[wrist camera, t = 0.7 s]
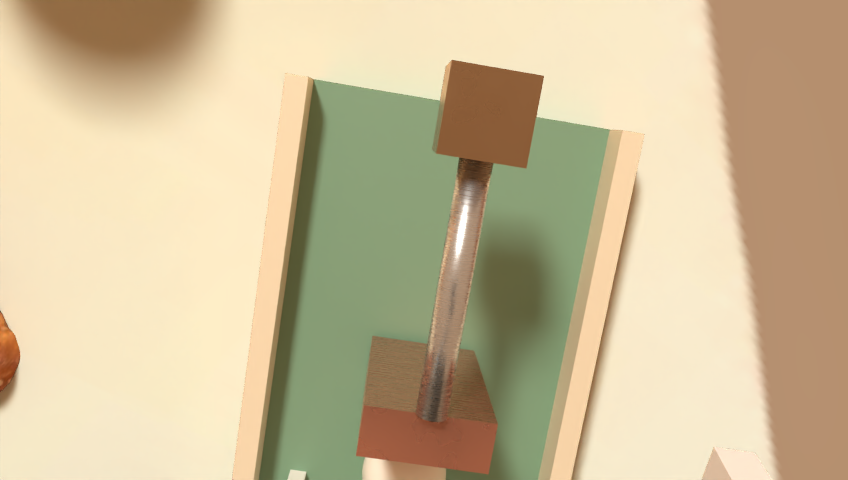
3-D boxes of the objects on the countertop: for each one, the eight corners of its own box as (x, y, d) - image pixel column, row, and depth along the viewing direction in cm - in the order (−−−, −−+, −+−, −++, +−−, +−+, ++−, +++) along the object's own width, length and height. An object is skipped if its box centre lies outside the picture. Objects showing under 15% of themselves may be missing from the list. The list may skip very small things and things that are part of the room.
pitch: (527, 593, 39) (546, 662, 34) (231, 555, 38) (206, 620, 33) (623, 132, 35) (660, 135, 30) (295, 77, 34) (277, 69, 29)
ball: (436, 494, 37) (440, 540, 33) (358, 484, 36) (353, 528, 33) (449, 421, 36) (455, 459, 32) (370, 410, 36) (366, 446, 32)
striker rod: (467, 389, 35) (493, 494, 25) (366, 374, 35) (353, 475, 25) (522, 91, 33) (574, 81, 23) (414, 73, 33) (420, 54, 23)
